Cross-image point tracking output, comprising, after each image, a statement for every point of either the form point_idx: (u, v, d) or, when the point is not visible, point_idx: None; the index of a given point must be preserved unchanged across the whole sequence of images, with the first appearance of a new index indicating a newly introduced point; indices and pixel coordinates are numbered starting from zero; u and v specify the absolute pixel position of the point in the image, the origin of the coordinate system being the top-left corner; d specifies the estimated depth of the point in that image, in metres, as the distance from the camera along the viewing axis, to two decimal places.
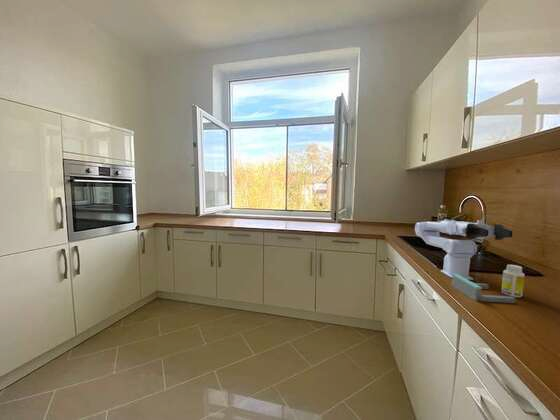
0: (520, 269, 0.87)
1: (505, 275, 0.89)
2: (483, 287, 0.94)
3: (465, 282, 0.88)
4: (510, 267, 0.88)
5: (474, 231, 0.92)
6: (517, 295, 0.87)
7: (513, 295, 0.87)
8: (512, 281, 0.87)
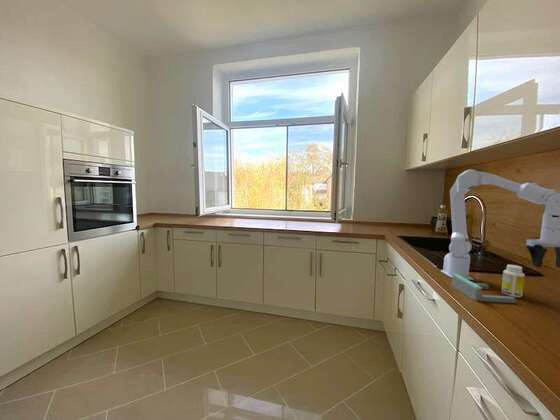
0: (520, 269, 0.87)
1: (505, 275, 0.89)
2: (483, 287, 0.94)
3: (465, 282, 0.88)
4: (510, 267, 0.88)
5: (537, 251, 0.88)
6: (517, 295, 0.87)
7: (513, 295, 0.87)
8: (512, 281, 0.87)
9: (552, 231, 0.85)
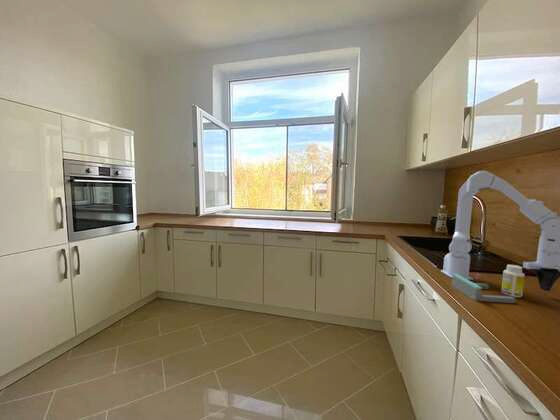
0: (520, 269, 0.87)
1: (505, 275, 0.89)
2: (483, 287, 0.94)
3: (465, 282, 0.88)
4: (510, 267, 0.88)
5: (544, 274, 0.88)
6: (517, 295, 0.87)
7: (513, 295, 0.87)
8: (512, 281, 0.87)
9: (548, 255, 0.86)
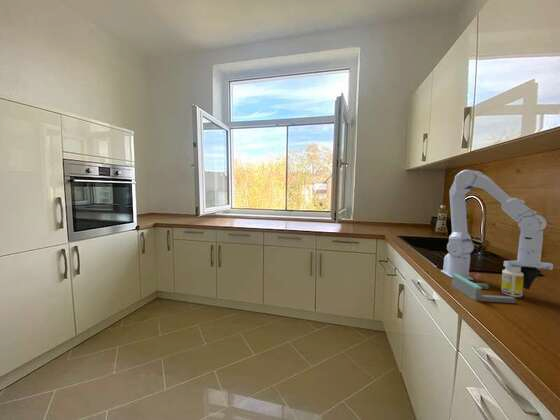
0: (519, 269, 0.87)
1: (504, 275, 0.89)
2: (483, 287, 0.94)
3: (465, 282, 0.88)
4: None
5: None
6: (517, 295, 0.87)
7: (513, 294, 0.87)
8: (511, 281, 0.87)
9: (528, 253, 0.86)
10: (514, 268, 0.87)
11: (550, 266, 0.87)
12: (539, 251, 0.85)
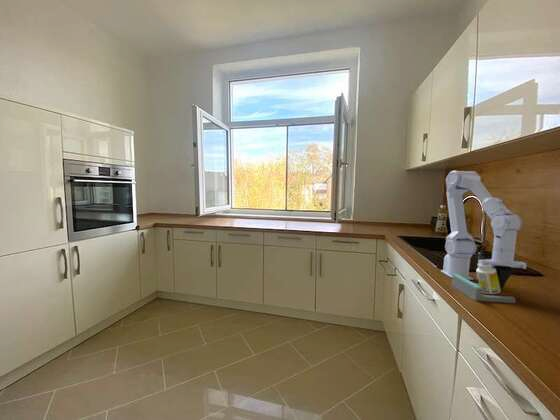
0: (490, 266, 0.87)
1: (478, 275, 0.89)
2: None
3: (465, 282, 0.88)
4: (481, 266, 0.89)
5: None
6: (495, 292, 0.87)
7: (491, 292, 0.87)
8: (486, 279, 0.87)
9: (501, 252, 0.87)
10: (485, 266, 0.87)
11: (523, 265, 0.87)
12: (512, 250, 0.86)
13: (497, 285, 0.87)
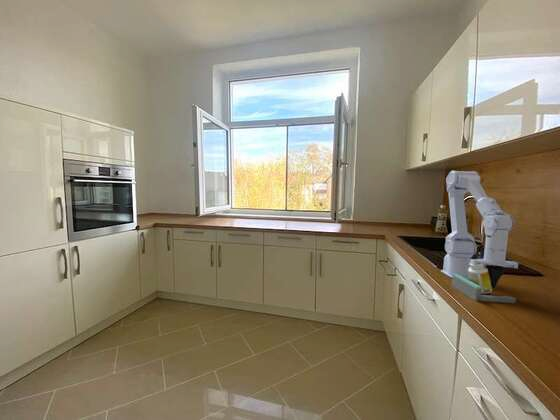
0: (482, 266, 0.87)
1: (470, 274, 0.90)
2: None
3: (465, 282, 0.88)
4: (472, 266, 0.89)
5: None
6: (487, 291, 0.87)
7: (483, 292, 0.88)
8: (477, 279, 0.88)
9: (493, 252, 0.87)
10: (477, 266, 0.88)
11: (515, 265, 0.88)
12: (503, 250, 0.86)
13: (489, 285, 0.87)
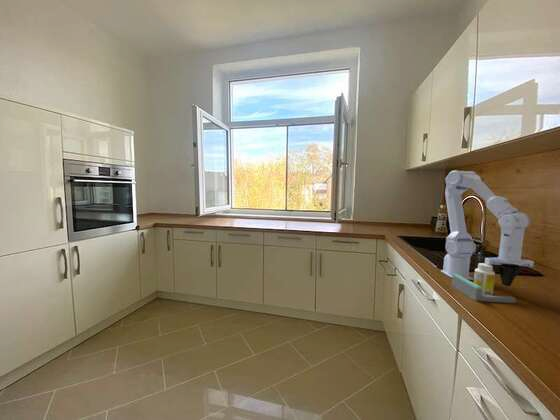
0: (491, 268, 0.87)
1: (476, 274, 0.90)
2: None
3: (465, 282, 0.88)
4: (481, 266, 0.89)
5: None
6: (487, 293, 0.87)
7: (484, 293, 0.88)
8: (483, 279, 0.88)
9: (508, 250, 0.86)
10: (486, 267, 0.88)
11: (530, 263, 0.87)
12: (519, 248, 0.85)
13: (491, 287, 0.87)
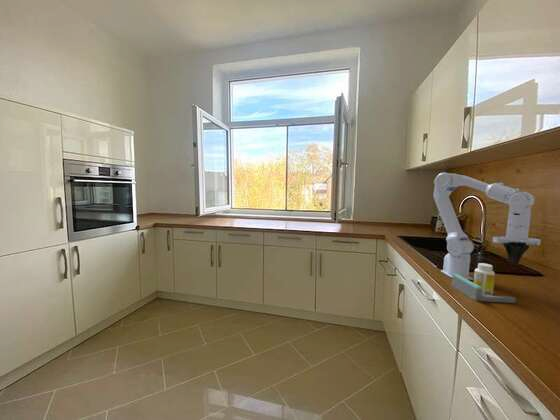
0: (490, 267, 0.87)
1: (476, 274, 0.90)
2: None
3: (465, 282, 0.88)
4: (481, 266, 0.89)
5: None
6: (487, 293, 0.87)
7: (484, 293, 0.88)
8: (482, 279, 0.88)
9: (516, 228, 0.89)
10: (486, 267, 0.88)
11: (537, 241, 0.89)
12: (527, 226, 0.87)
13: (491, 287, 0.87)
